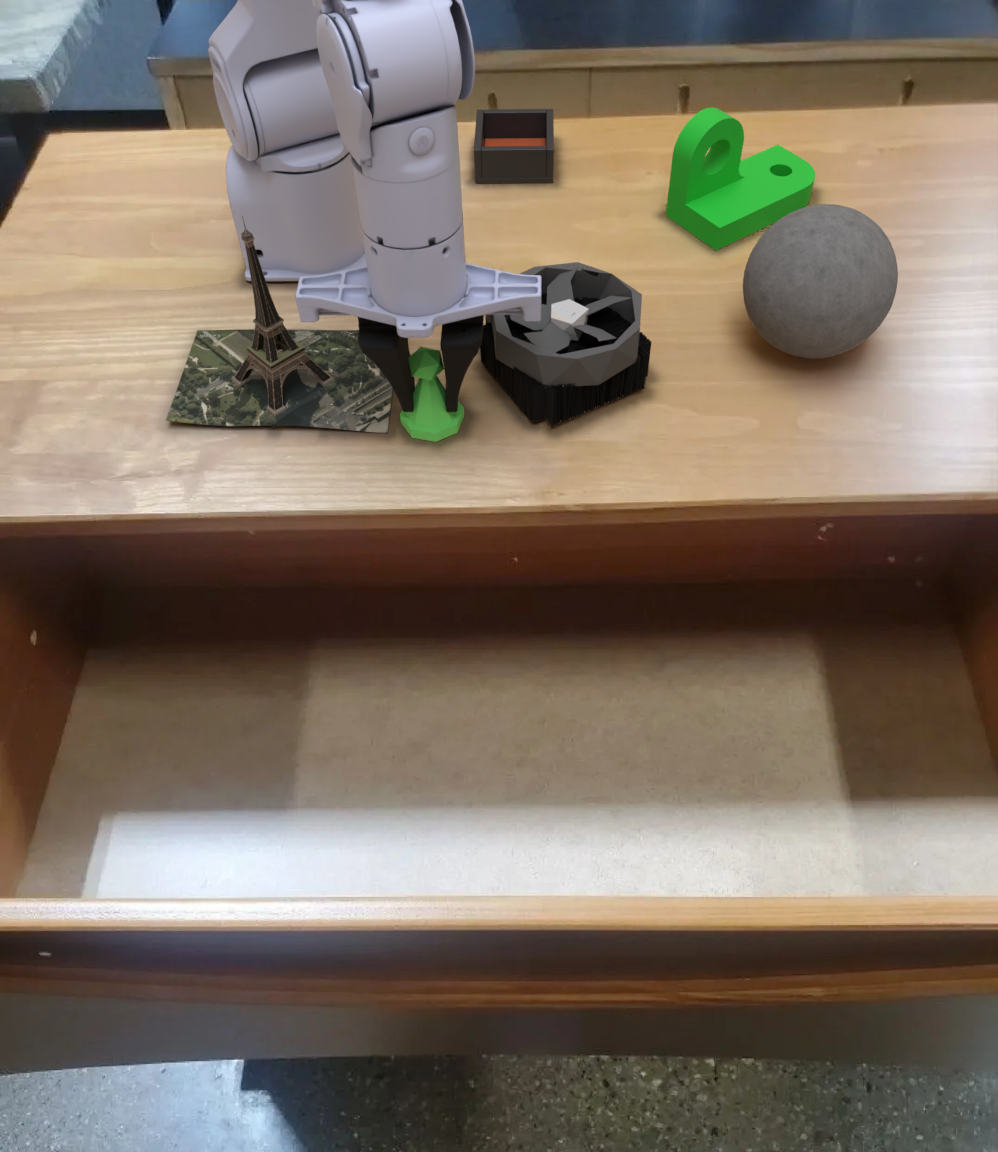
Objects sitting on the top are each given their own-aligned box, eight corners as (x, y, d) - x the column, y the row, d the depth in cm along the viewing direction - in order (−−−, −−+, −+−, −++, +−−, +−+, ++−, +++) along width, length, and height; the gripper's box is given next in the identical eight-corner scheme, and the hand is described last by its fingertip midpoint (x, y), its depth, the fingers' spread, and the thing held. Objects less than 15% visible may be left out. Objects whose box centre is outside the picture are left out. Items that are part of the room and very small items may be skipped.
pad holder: (475, 183, 87) (473, 150, 84) (478, 142, 91) (476, 109, 88) (553, 183, 86) (553, 149, 84) (552, 141, 90) (553, 108, 88)
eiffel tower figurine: (401, 335, 75) (380, 165, 64) (387, 433, 68) (361, 262, 58) (198, 334, 75) (144, 165, 65) (166, 431, 69) (100, 262, 58)
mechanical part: (715, 250, 80) (731, 154, 74) (665, 215, 83) (676, 120, 77) (825, 198, 84) (849, 103, 78) (773, 166, 87) (792, 72, 81)
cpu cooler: (675, 322, 66) (539, 376, 63) (665, 389, 70) (539, 443, 67) (588, 241, 71) (460, 288, 68) (585, 308, 76) (465, 355, 73)
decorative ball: (757, 397, 70) (787, 273, 62) (714, 307, 76) (736, 183, 68) (897, 378, 70) (944, 253, 62) (844, 290, 76) (880, 166, 69)
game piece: (467, 438, 68) (463, 368, 63) (403, 445, 68) (393, 375, 63) (461, 394, 70) (455, 324, 66) (398, 401, 70) (389, 331, 65)
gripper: (271, 263, 55) (314, 444, 66) (541, 262, 54) (540, 444, 65) (291, 190, 59) (328, 371, 70) (542, 188, 59) (540, 370, 69)
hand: (430, 401), depth 68 cm, fingers closed
